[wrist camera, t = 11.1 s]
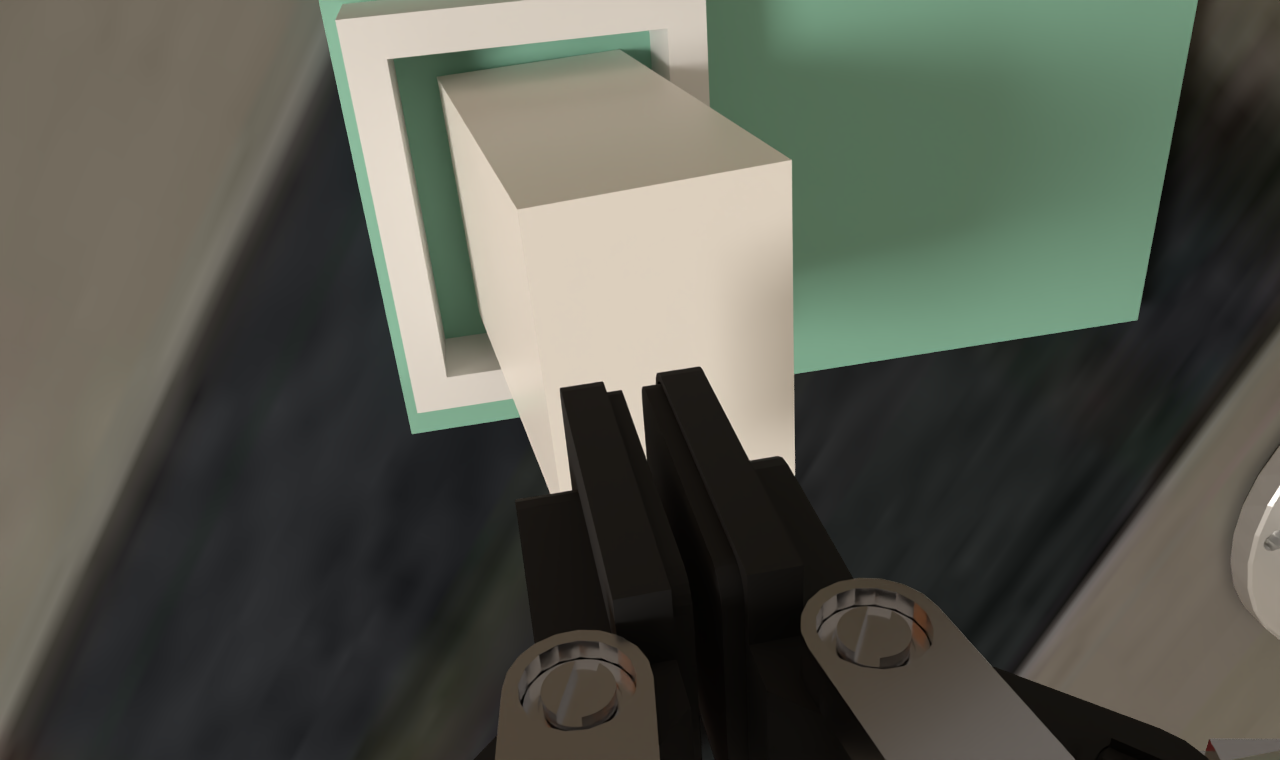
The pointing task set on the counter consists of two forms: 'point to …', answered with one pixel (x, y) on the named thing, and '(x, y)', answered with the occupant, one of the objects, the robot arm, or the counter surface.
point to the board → (807, 159)
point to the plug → (623, 244)
